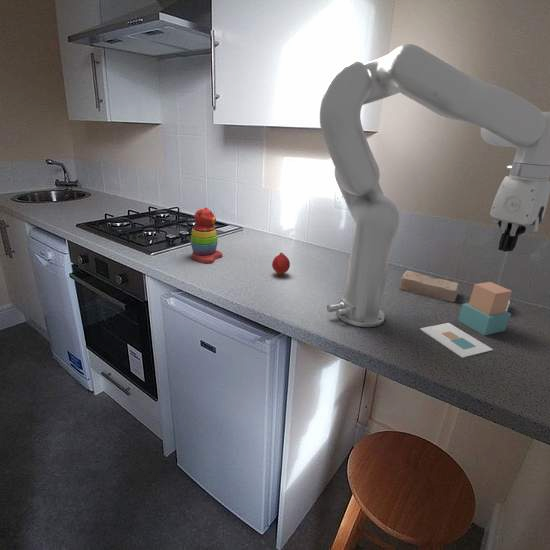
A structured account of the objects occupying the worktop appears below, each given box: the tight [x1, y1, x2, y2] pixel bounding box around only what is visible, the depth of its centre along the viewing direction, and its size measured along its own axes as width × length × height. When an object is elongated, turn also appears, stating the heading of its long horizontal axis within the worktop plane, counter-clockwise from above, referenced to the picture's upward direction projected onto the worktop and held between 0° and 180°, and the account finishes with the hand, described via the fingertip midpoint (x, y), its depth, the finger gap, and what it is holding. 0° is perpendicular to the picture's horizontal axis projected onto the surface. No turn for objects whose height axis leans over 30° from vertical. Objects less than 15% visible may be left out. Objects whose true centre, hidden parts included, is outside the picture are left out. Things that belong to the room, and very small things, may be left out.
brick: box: [399, 270, 459, 303], centre depth 114 cm, size 17×8×5 cm, turn 61°
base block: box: [457, 302, 512, 336], centre depth 95 cm, size 8×8×5 cm
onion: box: [271, 251, 291, 276], centre depth 118 cm, size 6×6×8 cm
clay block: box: [468, 281, 513, 315], centre depth 93 cm, size 6×6×6 cm
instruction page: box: [419, 322, 494, 359], centre depth 88 cm, size 10×13×1 cm
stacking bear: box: [190, 207, 224, 265], centre depth 127 cm, size 11×10×18 cm
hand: (505, 250), depth 88 cm, fingers closed
